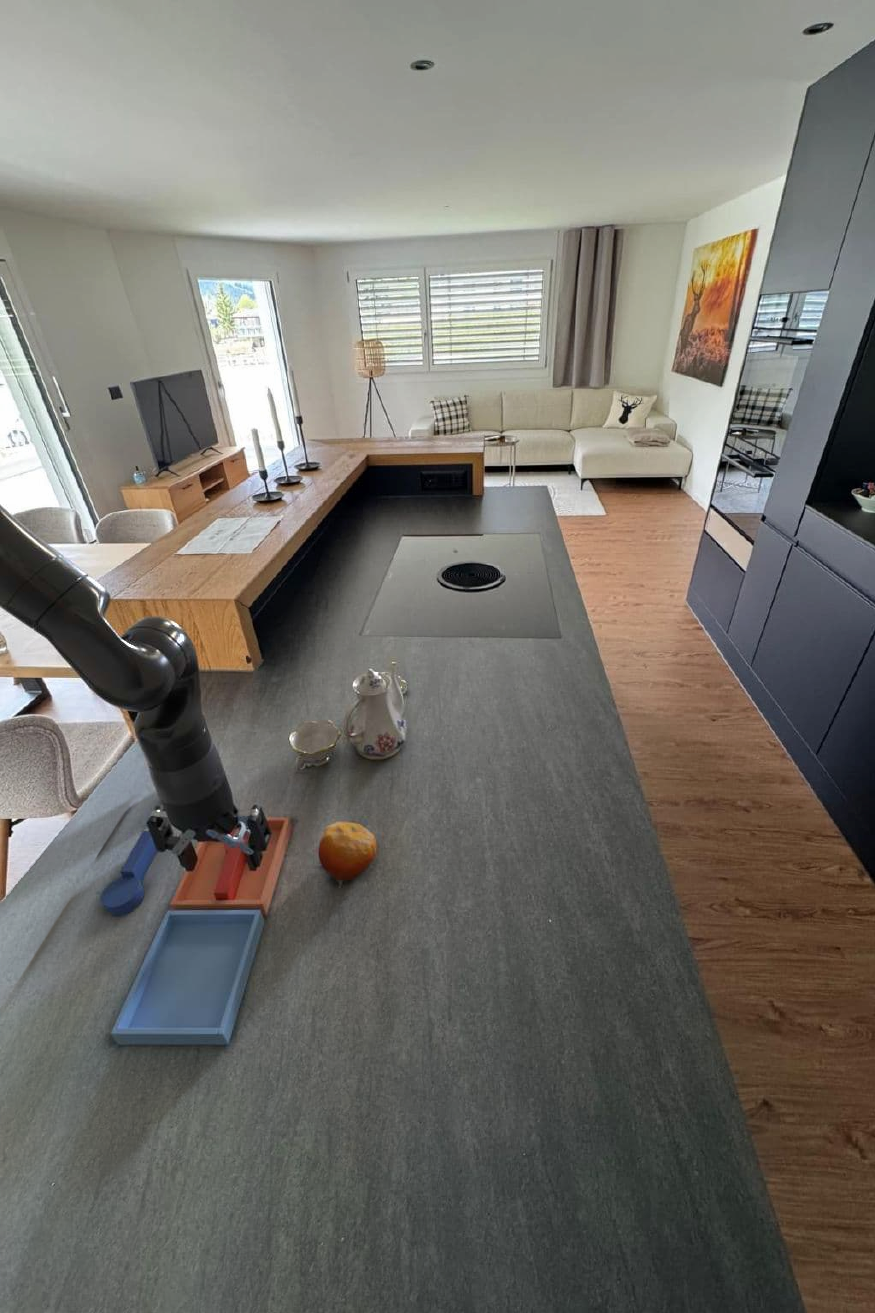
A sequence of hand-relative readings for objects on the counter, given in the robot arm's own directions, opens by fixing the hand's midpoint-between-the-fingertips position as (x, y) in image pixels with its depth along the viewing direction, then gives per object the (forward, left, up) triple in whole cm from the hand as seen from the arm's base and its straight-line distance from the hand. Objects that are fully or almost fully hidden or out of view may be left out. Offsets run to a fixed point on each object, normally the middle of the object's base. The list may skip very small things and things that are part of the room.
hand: (224, 865), depth 74 cm
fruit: (+16, +3, -4) cm, 17 cm away
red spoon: (0, +2, -4) cm, 4 cm away
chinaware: (+15, +30, -4) cm, 34 cm away
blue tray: (0, -12, -4) cm, 13 cm away
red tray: (0, +3, -4) cm, 5 cm away
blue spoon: (-14, +1, -4) cm, 15 cm away
